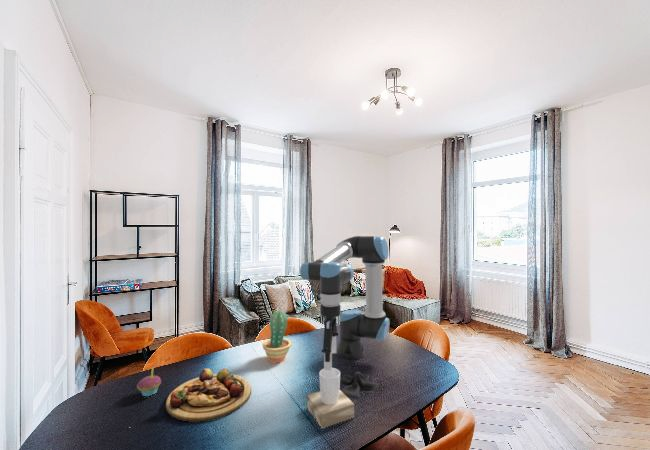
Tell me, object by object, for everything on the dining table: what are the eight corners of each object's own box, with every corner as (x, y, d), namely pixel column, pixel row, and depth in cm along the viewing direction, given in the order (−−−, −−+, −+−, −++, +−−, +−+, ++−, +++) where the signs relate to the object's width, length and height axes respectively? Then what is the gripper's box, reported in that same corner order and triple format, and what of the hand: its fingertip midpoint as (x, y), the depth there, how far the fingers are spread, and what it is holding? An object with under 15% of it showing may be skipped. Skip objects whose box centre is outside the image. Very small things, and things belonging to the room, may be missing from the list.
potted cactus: (296, 360, 150) (297, 312, 150) (269, 368, 141) (269, 317, 141) (283, 350, 163) (283, 305, 163) (257, 357, 154) (257, 309, 154)
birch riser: (307, 408, 110) (307, 394, 110) (336, 399, 116) (336, 386, 116) (322, 429, 99) (322, 414, 99) (354, 417, 104) (354, 404, 105)
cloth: (343, 402, 115) (343, 386, 115) (330, 379, 133) (330, 365, 133) (394, 394, 120) (394, 379, 121) (375, 373, 138) (375, 360, 139)
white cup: (338, 407, 103) (338, 379, 103) (317, 404, 104) (317, 376, 104) (341, 394, 110) (341, 368, 110) (321, 392, 112) (321, 366, 112)
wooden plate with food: (164, 435, 96) (165, 410, 96) (166, 387, 124) (167, 368, 124) (259, 410, 110) (260, 388, 111) (242, 372, 139) (242, 355, 139)
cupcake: (165, 390, 121) (166, 362, 122) (147, 402, 113) (147, 371, 114) (150, 387, 124) (151, 359, 124) (131, 398, 116) (132, 368, 116)
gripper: (325, 295, 121) (325, 346, 121) (314, 313, 96) (314, 377, 96) (343, 296, 120) (343, 347, 120) (336, 314, 95) (336, 379, 95)
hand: (330, 360), depth 108 cm, fingers open, 13 cm apart
